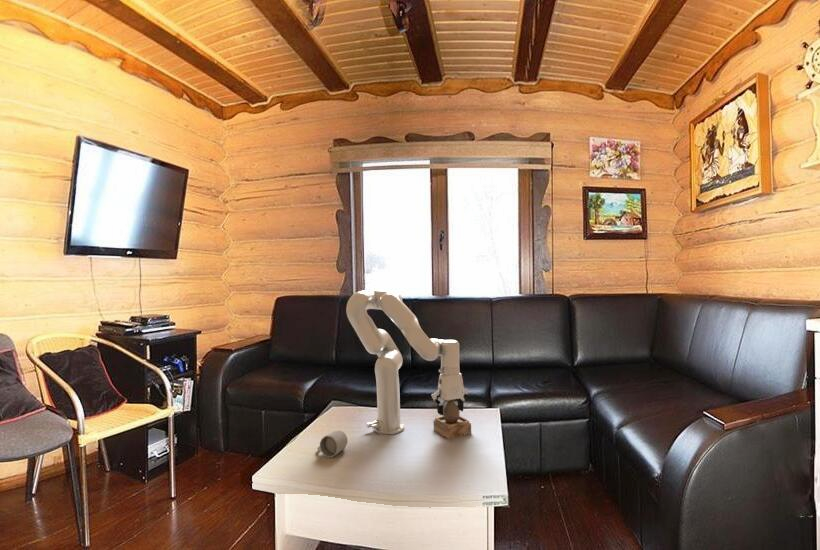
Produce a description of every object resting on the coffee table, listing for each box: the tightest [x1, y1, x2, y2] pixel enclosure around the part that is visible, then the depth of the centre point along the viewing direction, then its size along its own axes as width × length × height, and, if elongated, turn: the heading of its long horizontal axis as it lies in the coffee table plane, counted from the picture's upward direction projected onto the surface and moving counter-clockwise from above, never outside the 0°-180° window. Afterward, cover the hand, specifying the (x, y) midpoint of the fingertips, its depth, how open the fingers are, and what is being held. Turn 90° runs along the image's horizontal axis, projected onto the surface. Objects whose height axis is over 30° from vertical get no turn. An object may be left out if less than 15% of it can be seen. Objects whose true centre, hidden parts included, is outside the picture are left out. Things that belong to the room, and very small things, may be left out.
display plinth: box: [433, 415, 472, 440], centre depth 166 cm, size 11×11×5 cm
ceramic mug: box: [316, 430, 348, 458], centre depth 150 cm, size 11×8×8 cm
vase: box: [442, 399, 461, 424], centre depth 166 cm, size 7×7×9 cm
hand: (450, 412), depth 166 cm, fingers open, 9 cm apart
